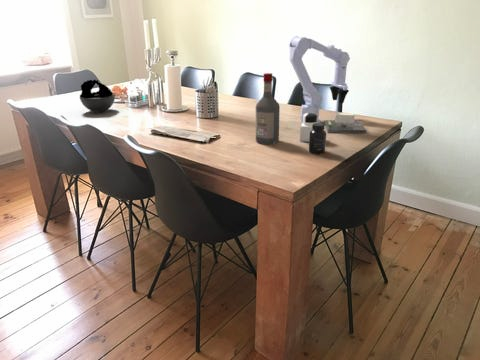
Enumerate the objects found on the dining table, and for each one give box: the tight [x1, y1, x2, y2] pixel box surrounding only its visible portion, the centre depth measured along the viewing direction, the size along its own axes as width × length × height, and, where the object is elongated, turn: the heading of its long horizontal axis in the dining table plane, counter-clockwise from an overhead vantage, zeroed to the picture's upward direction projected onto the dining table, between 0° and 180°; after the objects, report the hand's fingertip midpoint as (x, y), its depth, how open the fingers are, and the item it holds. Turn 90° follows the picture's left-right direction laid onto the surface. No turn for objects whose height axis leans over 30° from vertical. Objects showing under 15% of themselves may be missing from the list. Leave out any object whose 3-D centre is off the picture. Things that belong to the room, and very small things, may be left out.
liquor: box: [255, 72, 280, 145], centre depth 172 cm, size 9×9×30 cm
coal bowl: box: [79, 79, 116, 113], centre depth 233 cm, size 20×20×19 cm
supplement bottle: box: [308, 122, 327, 155], centre depth 162 cm, size 7×7×12 cm
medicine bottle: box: [299, 113, 317, 143], centre depth 177 cm, size 7×7×12 cm
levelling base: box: [323, 119, 367, 134], centre depth 196 cm, size 18×18×3 cm
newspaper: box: [149, 125, 221, 144], centre depth 188 cm, size 35×12×4 cm, turn 61°
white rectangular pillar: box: [334, 112, 355, 125], centre depth 195 cm, size 3×9×6 cm, turn 80°
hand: (337, 101), depth 209 cm, fingers open, 7 cm apart
